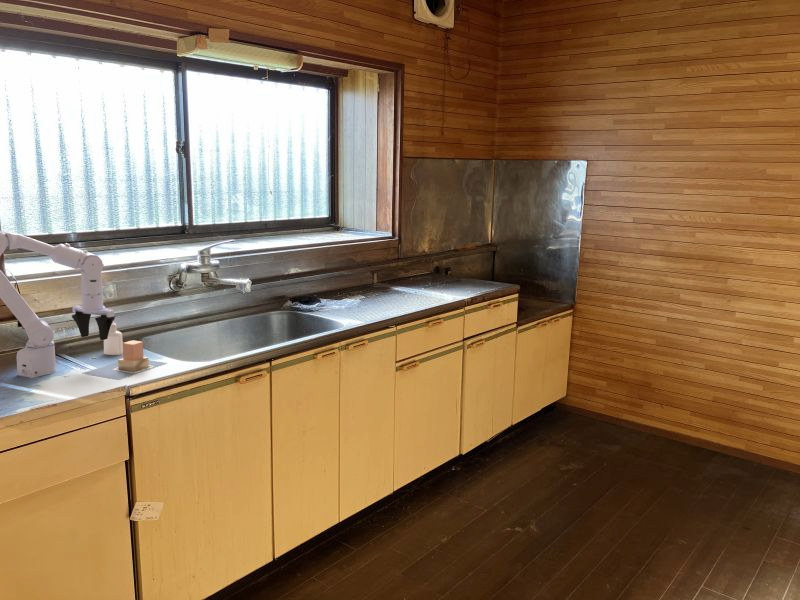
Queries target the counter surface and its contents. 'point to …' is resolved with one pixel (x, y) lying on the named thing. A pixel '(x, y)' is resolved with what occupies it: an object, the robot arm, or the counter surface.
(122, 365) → the base block
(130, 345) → the top block
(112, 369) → the board
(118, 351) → the eye dropper bottle
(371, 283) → the counter surface
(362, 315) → the counter surface
